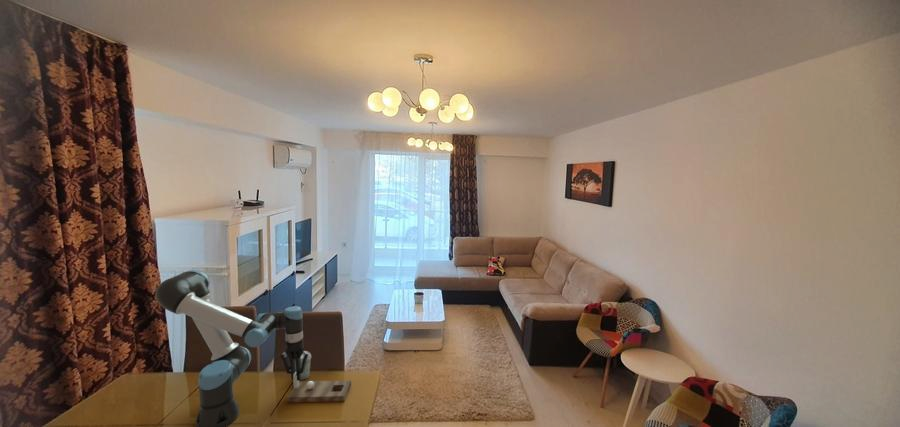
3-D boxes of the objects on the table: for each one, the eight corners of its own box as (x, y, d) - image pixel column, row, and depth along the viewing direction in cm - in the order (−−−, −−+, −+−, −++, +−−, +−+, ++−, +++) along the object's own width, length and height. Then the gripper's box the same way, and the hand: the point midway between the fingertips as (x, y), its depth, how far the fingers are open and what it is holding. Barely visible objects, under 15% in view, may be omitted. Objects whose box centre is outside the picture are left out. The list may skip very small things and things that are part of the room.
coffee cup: (305, 382, 166) (304, 360, 165) (290, 380, 168) (289, 358, 167) (315, 373, 175) (314, 351, 173) (301, 370, 176) (300, 349, 175)
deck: (288, 402, 152) (287, 397, 151) (298, 386, 163) (298, 381, 163) (344, 401, 153) (344, 396, 152) (351, 385, 165) (351, 380, 164)
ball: (305, 391, 156) (304, 384, 155) (307, 386, 159) (307, 379, 159) (312, 390, 156) (312, 383, 156) (315, 386, 159) (315, 379, 159)
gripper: (276, 343, 151) (279, 391, 153) (305, 343, 151) (307, 390, 154) (284, 336, 158) (286, 381, 161) (311, 335, 159) (313, 381, 161)
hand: (296, 386), depth 157 cm, fingers closed
